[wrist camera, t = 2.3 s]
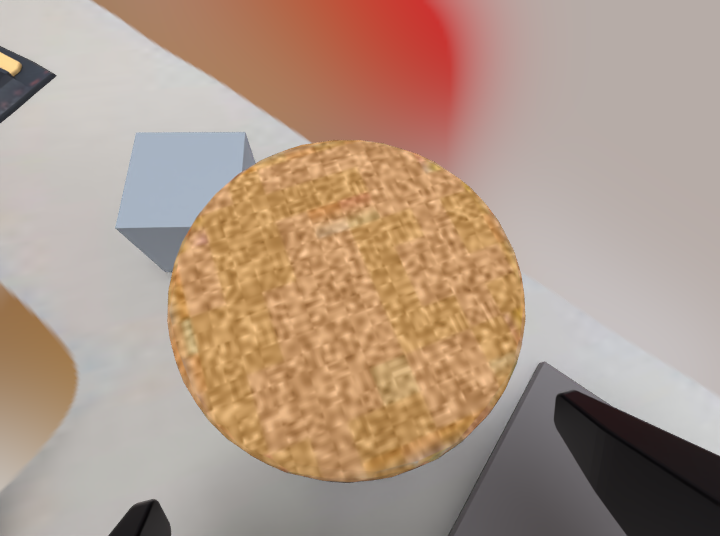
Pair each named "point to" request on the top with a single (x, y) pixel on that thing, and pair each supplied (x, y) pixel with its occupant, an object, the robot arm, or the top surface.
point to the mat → (535, 475)
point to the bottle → (346, 310)
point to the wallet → (19, 81)
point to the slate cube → (175, 186)
